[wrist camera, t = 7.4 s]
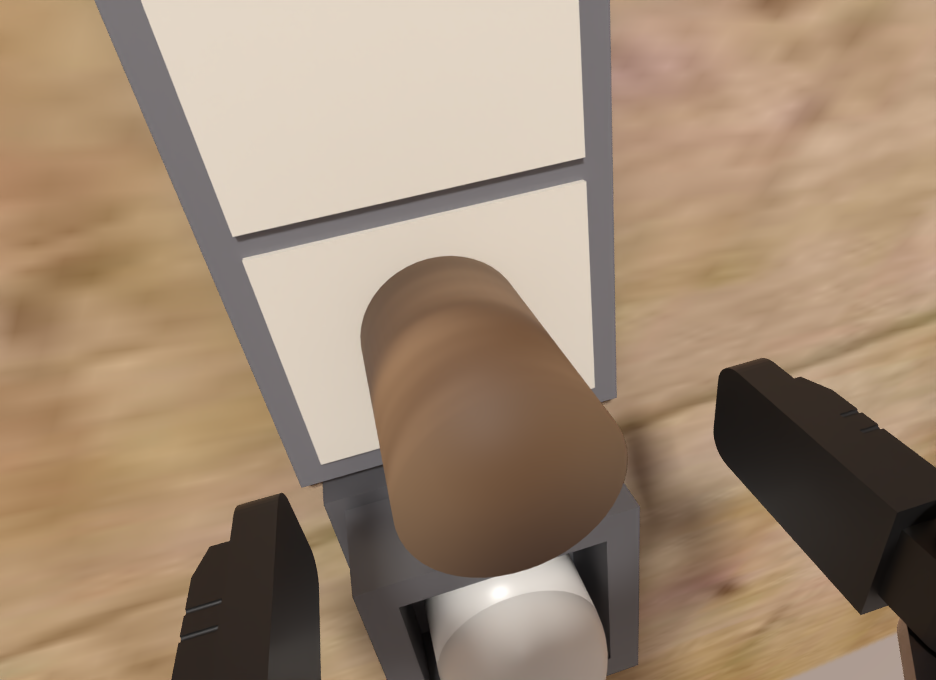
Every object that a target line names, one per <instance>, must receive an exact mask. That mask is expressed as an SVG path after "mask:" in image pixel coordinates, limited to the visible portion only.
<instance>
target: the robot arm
mask: <svg viewBox="0 0 936 680" xmlns="http://www.w3.org/2000/svg"><path fill="white" fill-rule="evenodd" d="M714 440H715V444H716V447H717V450H718V452H719V454H720V456H721V458H722V459H723V461H724V462H725V463H726V465H727V466H728V467H729V468H730V469H731V470H732V471H733V473H734V474H735V475H736V476H737V477H738V478H739V479H740V480H741V481H742V483H743V484H744V485H745V486H746V487H747V488H748V489H749V490H750V492H751V493H752V494H753V495H754V496H755V497H756V498H757V499H758V501H759V502H760V503H761V504H762V505H763V506H764V507H765V508H766V509H767V511H768V512H769V513H770V514H771V515H772V516H773V517H774V518H775V520H776V521H777V522H778V523H779V524H780V525H781V526H782V527H783V528H784V530H785V531H786V532H787V533H788V534H789V535H790V536H791V537H792V539H793V540H794V541H795V542H796V543H797V544H798V545H799V546H800V547H801V549H802V550H803V551H804V552H805V553H806V554H807V555H808V556H809V558H810V559H811V560H812V561H813V562H814V563H815V564H816V565H817V567H818V568H819V569H820V570H821V571H822V572H823V573H824V574H825V575H826V577H827V578H828V579H829V580H830V581H831V582H832V583H833V584H834V586H835V587H836V588H837V589H838V590H839V591H840V592H841V593H842V594H843V596H844V597H845V598H846V599H847V600H848V601H849V602H850V603H851V605H852V606H853V607H854V608H855V609H856V610H857V611H858V612H859V614H860V615H862V614H865V613H868V612H871V611H874V610H876V609H879V608H882V607H885V606H889V607H890V608H891V609H892V610H893V611H894V612H895V613H896V614H897V615H898V616H899V617H900V618H899V621H898V624H897V636H898V642H899V648H900V655H901V660H902V667H903V674H904V680H936V468H935V467H934V466H933V465H931V464H930V463H929V462H927V461H926V460H925V459H923V458H922V457H921V456H919V455H918V454H917V453H915V452H914V451H913V450H911V449H910V448H909V447H907V446H906V445H905V444H903V443H902V442H901V441H899V440H898V439H897V438H895V437H894V436H893V435H891V434H890V433H889V432H887V431H886V430H885V429H880V428H879V427H878V424H877V423H875V422H874V421H873V420H871V419H870V418H869V417H867V416H866V415H865V414H864V413H858V411H857V408H856V407H854V406H853V405H852V404H850V403H849V402H848V401H846V400H845V399H844V398H842V397H841V396H840V395H838V394H837V393H836V392H834V391H833V390H831V389H829V388H826V387H824V386H821V385H819V384H817V383H814V382H812V381H809V380H807V379H805V378H802V377H798V378H795V379H794V378H793V377H792V376H790V375H789V374H788V373H786V372H785V371H784V370H783V369H781V368H780V367H779V366H778V365H776V364H775V363H774V362H772V361H771V360H769V359H766V358H760V359H757V360H753V361H750V362H746V363H743V364H739V365H736V366H732V367H729V368H725V369H723V370H722V371H721V373H720V375H719V379H718V389H717V399H716V410H715V420H714ZM185 610H186V615H185V616H184V618H183V623H182V628H181V633H180V637H181V643H178V648H177V653H176V659H175V664H174V669H173V674H172V679H171V680H321V664H320V616H319V582H318V574H317V568H316V564H315V560H314V556H313V553H312V550H311V548H310V546H309V544H308V541H307V539H306V537H305V535H304V533H303V531H302V529H301V526H300V524H299V522H298V520H297V518H296V516H295V514H294V511H293V509H292V507H291V505H290V503H289V501H288V499H287V497H286V496H285V495H284V494H283V493H280V494H276V495H273V496H269V497H266V498H262V499H258V500H255V501H251V502H248V503H244V504H241V505H238V506H237V507H236V508H235V511H234V516H233V523H232V530H231V537H230V541H228V542H225V543H221V544H218V545H214V546H211V547H209V549H208V551H207V552H206V554H205V556H204V557H203V559H202V561H201V563H200V564H199V566H198V568H197V569H196V571H195V573H194V574H193V576H192V578H191V583H190V588H189V593H188V598H187V603H186V608H185Z"/></svg>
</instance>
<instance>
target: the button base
mask: <svg viewBox="0 0 936 680" xmlns="http://www.w3.org/2000/svg"><path fill="white" fill-rule="evenodd" d="M323 501H324V506H325V509H326V511H327V514H328V516H329V519H330V521H331V524H332V526H333V529H334V531H335V533H336V536H337V538H338V541H339V543H340V546H341V548H342V551H343V553H344V556H345V558H346V561H347V563H348V566H349V568H350V575H351V586H352V597H353V599H354V602H355V604H356V607H357V609H358V611H359V614H360V616H361V618H362V621H363V623H364V626H365V628H366V630H367V633H368V635H369V638H370V640H371V642H372V645H373V647H374V650H375V652H376V654H377V657H378V659H379V661H380V664H381V666H382V669H383V671H384V673H385V676H386V678H387V680H440V677H439V672H438V668H437V663H436V658H435V653H434V648H433V643H432V638H431V634H430V629H429V624H428V619H427V614H426V609H425V605H424V600H425V599H428V598H431V597H434V596H437V595H440V594H443V593H446V592H450V591H453V590H456V589H459V588H462V587H465V586H468V585H471V584H475V583H478V582H481V581H484V580H487V579H490V578H493V577H487V578H470V577H460V576H454V575H450V574H446V573H443V572H440V571H437V570H434V569H432V568H430V567H428V566H426V565H425V564H423V563H421V562H420V561H419V560H417V559H416V558H415V557H414V556H413V555H412V554H411V553H410V552H409V551H408V550H407V549H406V548H405V547H404V545H403V544H402V542H401V541H400V539H399V537H398V534H397V532H396V529H395V525H394V521H393V516H392V511H391V505H390V500H389V494H388V489H387V484H386V478H385V473H384V468H383V465H379V466H376V467H372V468H369V469H365V470H362V471H358V472H355V473H351V474H348V475H344V476H341V477H337V478H334V479H330V480H327V481H323ZM639 538H640V506H639V505H638V503H637V502H636V500H635V499H634V497H633V496H632V494H631V493H630V491H629V490H628V488H627V487H626V485H625V484H624V483H623V486H622V488H621V491H620V493H619V495H618V497H617V499H616V501H615V503H614V505H613V506H612V508H611V509H610V510H609V512H608V513H607V515H606V516H605V517H604V518H603V520H602V521H601V522H600V523H599V524H598V525H597V526H596V527H595V528H594V529H593V530H592V531H591V532H590V533H589V534H588V535H587V536H586V537H585V538H583V539H582V540H581V541H580V542H579V543H577V544H576V545H574V546H573V547H572V548H570V549H569V550H567V551H566V552H564V553H562V554H561V555H559V556H562V555H565V554H568V553H569V555H570V557H571V559H572V561H573V563H574V565H575V567H576V569H577V571H578V574H579V576H580V578H581V580H582V582H583V584H584V586H585V588H586V590H587V592H588V594H589V596H590V598H591V600H592V602H593V604H594V606H595V608H596V611H597V613H598V616H599V618H600V620H601V623H602V625H603V629H604V633H605V637H606V644H607V652H608V664H607V674H606V676H608V675H611V674H614V673H616V672H619V671H622V670H625V669H628V668H631V667H633V666H636V665H638V629H639ZM559 556H557V557H559ZM555 558H556V557H555Z"/></svg>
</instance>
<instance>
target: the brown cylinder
mask: <svg viewBox="0 0 936 680" xmlns="http://www.w3.org/2000/svg"><path fill="white" fill-rule="evenodd" d="M360 341H361V350H362V355H363V360H364V366H365V371H366V376H367V382H368V387H369V393H370V398H371V403H372V409H373V414H374V419H375V425H376V430H377V435H378V441H379V446H380V452H381V457H382V462H383V468H384V473H385V478H386V484H387V489H388V494H389V500H390V505H391V511H392V516H393V521H394V525H395V529H396V532H397V534H398V537H399V539H400V541H401V542H402V544H403V545H404V547H405V548H406V549H407V550H408V551H409V552H410V553H411V554H412V555H413V556H414V557H415V558H416V559H417V560H419V561H420V562H421V563H423V564H425V565H426V566H428V567H430V568H432V569H434V570H437V571H440V572H443V573H446V574H450V575H454V576H460V577H470V578H487V577H497V576H503V575H509V574H514V573H517V572H521V571H524V570H528V569H530V568H533V567H536V566H538V565H541V564H543V563H545V562H547V561H549V560H551V559H554V558H555V557H557V556H559V555H561V554H562V553H564V552H566V551H567V550H569V549H570V548H572V547H573V546H574V545H576V544H577V543H579V542H580V541H581V540H582V539H583V538H585V537H586V536H587V535H588V534H589V533H590V532H591V531H592V530H593V529H594V528H595V527H596V526H597V525H598V524H599V523H600V522H601V521H602V520H603V518H604V517H605V516H606V515H607V513H608V512H609V510H610V509H611V508H612V506H613V505H614V503H615V501H616V499H617V497H618V495H619V493H620V491H621V488H622V486H623V483H624V480H625V476H626V471H627V461H628V456H627V446H626V443H625V439H624V436H623V434H622V432H621V429H620V427H619V426H618V424H617V423H616V422H615V420H614V419H613V418H612V416H611V415H610V414H609V412H608V411H607V410H606V408H605V407H604V406H603V404H602V403H601V402H600V400H599V399H598V398H597V397H596V395H595V394H594V393H593V391H592V390H591V389H590V387H589V386H588V385H587V383H586V382H585V381H584V379H583V378H582V377H581V376H580V374H579V373H578V372H577V370H576V369H575V368H574V366H573V365H572V364H571V362H570V361H569V360H568V359H567V357H566V356H565V355H564V353H563V352H562V351H561V349H560V348H559V347H558V345H557V344H556V343H555V341H554V340H553V339H552V338H551V336H550V335H549V334H548V332H547V331H546V330H545V328H544V327H543V326H542V324H541V323H540V322H539V321H538V319H537V318H536V317H535V315H534V314H533V313H532V311H531V310H530V309H529V307H528V306H527V305H526V303H525V302H524V301H523V300H522V298H521V297H520V296H519V294H518V293H517V292H516V290H515V289H514V288H513V286H512V285H511V284H510V283H509V281H508V280H507V279H506V278H505V277H504V276H503V275H502V274H501V273H500V272H498V271H497V270H496V269H494V268H493V267H491V266H489V265H487V264H485V263H484V262H481V261H478V260H475V259H472V258H467V257H461V256H440V257H434V258H429V259H425V260H422V261H419V262H416V263H414V264H412V265H410V266H407V267H406V268H404V269H402V270H401V271H399V272H397V273H396V274H395V275H393V276H392V277H391V278H390V279H388V280H387V281H386V282H385V283H384V284H383V285H382V286H381V287H380V288H379V290H378V291H377V292H376V294H375V295H374V296H373V298H372V299H371V301H370V303H369V305H368V307H367V309H366V311H365V314H364V317H363V321H362V325H361V333H360Z"/></svg>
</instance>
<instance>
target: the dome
mask: <svg viewBox="0 0 936 680" xmlns="http://www.w3.org/2000/svg"><path fill="white" fill-rule="evenodd" d="M424 605H425V609H426V614H427V619H428V624H429V629H430V634H431V638H432V643H433V648H434V653H435V658H436V663H437V668H438V672H439V677H440V680H606V674H607V664H608V652H607V644H606V637H605V633H604V629H603V625H602V623H601V620H600V618H599V616H598V613H597V611H596V608H595V606H594V604H593V602H592V600H591V598H590V596H589V594H588V592H587V590H586V588H585V586H584V584H583V582H582V580H581V578H580V576H579V574H578V571H577V569H576V567H575V565H574V563H573V561H572V559H571V557H570V555H569V553H568V554H565V555H562V556H559V557H556V558H554V559H551V560H549V561H547V562H545V563H543V564H541V565H538V566H536V567H533V568H530V569H528V570H524V571H521V572H517V573H514V574H509V575H503V576H497V577H493V578H490V579H487V580H484V581H481V582H478V583H475V584H471V585H468V586H465V587H462V588H459V589H456V590H453V591H450V592H446V593H443V594H440V595H437V596H434V597H431V598H428V599H425V600H424Z"/></svg>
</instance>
